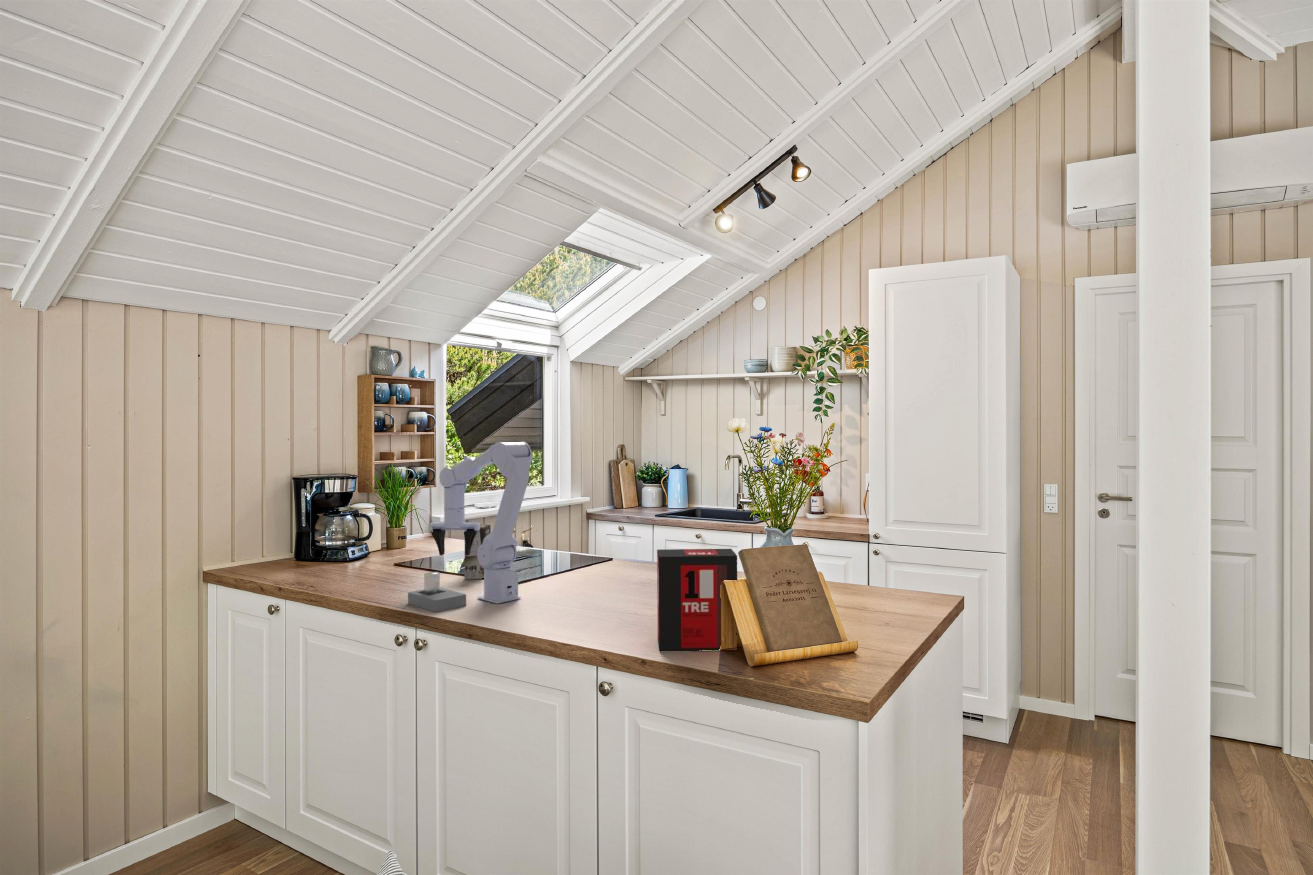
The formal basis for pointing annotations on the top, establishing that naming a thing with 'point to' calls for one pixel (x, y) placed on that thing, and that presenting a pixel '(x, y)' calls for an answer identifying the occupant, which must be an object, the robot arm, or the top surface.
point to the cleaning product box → (691, 597)
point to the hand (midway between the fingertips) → (454, 554)
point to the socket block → (437, 600)
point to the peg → (431, 583)
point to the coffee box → (471, 561)
